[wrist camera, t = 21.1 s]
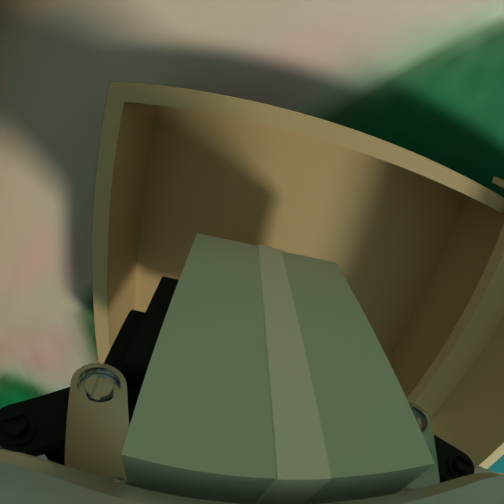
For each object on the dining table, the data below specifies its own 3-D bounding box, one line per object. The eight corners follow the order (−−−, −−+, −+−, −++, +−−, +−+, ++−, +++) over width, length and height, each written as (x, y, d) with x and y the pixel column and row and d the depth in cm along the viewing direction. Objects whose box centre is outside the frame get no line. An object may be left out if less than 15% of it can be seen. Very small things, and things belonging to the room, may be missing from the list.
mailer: (462, 181, 14) (523, 209, 9) (370, 376, 19) (391, 433, 15) (155, 91, 12) (110, 80, 7) (130, 340, 18) (104, 401, 13)
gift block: (338, 261, 11) (438, 462, 4) (295, 364, 13) (324, 539, 6) (196, 231, 10) (116, 454, 3) (178, 344, 12) (139, 528, 5)
